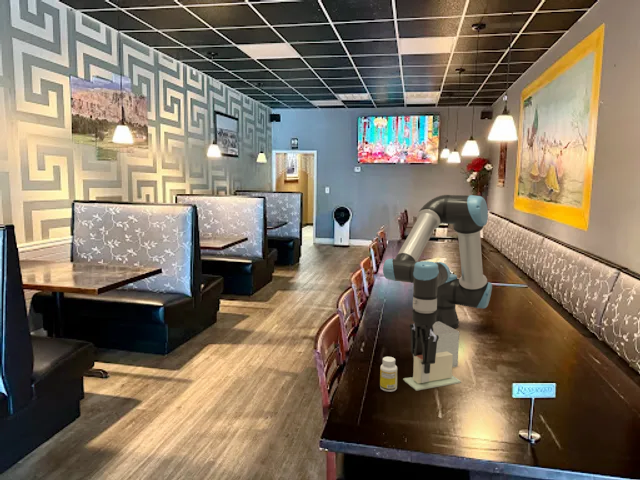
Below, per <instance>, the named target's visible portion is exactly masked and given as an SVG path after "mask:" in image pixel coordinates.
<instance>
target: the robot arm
mask: <svg viewBox="0 0 640 480" xmlns="http://www.w3.org/2000/svg"><path fill="white" fill-rule="evenodd" d="M488 210H489V207H488V205H487V201H486V200H485V198H484V197H483V196H481V195H475V194H474V195H473V194H469V195H468V194H467V195H465V194H463V195H462V194H461V195H460V194H459V195H458V194H442V195H437V196H436V197H434V198H431V199H430V200H428V201H427V202H426V203H425V204H424V205H423V206H422V207H421V208H420V209H419V211H418V212H417V214H416V221H415V223H414V225H413V226H412V228H411V230H410V231H409V233H408V234H407V235H408V236H406V239H405V241H404V242H403V244H402V246H401V247H400V249H399V251H398V253H397V255H396V256H395V258H387V259H386V260H385V261H384V263H383V266H382V273H383V276H384V278H385V279H386V280H389V281H390V280H391V281H394V282H403V283H412V285H413V291H412V297H413V298H412V309H413V310H412V312H411V314H412V317H411V320H412V322H413V323H410V324H409V329H410V353H411V354H412V355H413V354H414V356H417V355H423V362H421V383H424V382H429V373H430V364H434V363H435V358H436V348H437V341H438V339H439V336H438V335H435V334H434V333H433V324H434V323H436V322H438V321H440V322H442V323H444V324H445V325H447V326H449V327H451V328H453V329H457V328H458V327H459V325H460V324H459V323H460V322H459V321H460V320H459V317H458V313H457V310H456V305H457V306H463V307H467V308H468V307H469V308H475V309H486V308H487V307H488V306H489V303H490V300H491V295H492V290H493V284H492V283H491V282H489V281H488V278H487V276H486V275H485V274H484V271H483V270H484V269H483V257H482V241H481V231H482V230H483V229H484V226H486V225H487V223H488V221H489V211H488ZM441 224H442V225H443V224H447V225H452V227H453V231H454V232H455V233H456V234H457V238H458V247H459V248H458V249H459V258H460V268H461V276H460V277H459V278H458V276H457V274H455V273H451V270H450V267H449V266H448V265H447V264H446V263H444V262H441V261H429V260H427V261H426V260H423V261H419V259H420V257H421V255H422V253H423V252H424V249H425V248H426V246H427V244H428V242H429V241H430V239H431V236H432V235H433V232H434V231H435V229H438V228H439V226H440V225H441ZM414 330H415V331H414ZM425 339H426V340H425ZM422 352H423V354H422Z"/></svg>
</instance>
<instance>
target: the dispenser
mask: <svg viewBox="0 0 640 480" xmlns="http://www.w3.org/2000/svg"><path fill="white" fill-rule="evenodd" d="M414 331H415V330H414ZM433 333H434V334H435V335H438V336H439V339H438V341H437V348H436V353H440V352H446V351H448V352H449V353H451V354H453V362H452V368H456V367H458V363H459V347H460V346H459V344H460V331H459V330H457V329H456V328H454V329H453V328H451V327H449V326H447V325H445V324H444V323H442V322H440V321H438V322H436V323H434V324H433ZM425 340H426V339H425ZM422 354H423V352H422ZM412 358H413V359H414V354H412Z"/></svg>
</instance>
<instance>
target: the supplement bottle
mask: <svg viewBox="0 0 640 480" xmlns="http://www.w3.org/2000/svg"><path fill="white" fill-rule="evenodd" d="M379 371H380V372H379V373H380V374H379V387H380V390H382V391H384V392H391V393H392V392H395V391H396V390H397V389H398V366H397V365H396V358H394V356H393V357H392V356H384V357H382V364H381V365H380V370H379Z"/></svg>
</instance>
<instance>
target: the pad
mask: <svg viewBox="0 0 640 480" xmlns="http://www.w3.org/2000/svg"><path fill="white" fill-rule="evenodd" d="M402 381H404V382H405V383H406V384H408V385H409V386H410V387H411V388H412V389H414V390H415V391H421V390H427V389H433V388H438V387H444V386H449V385H455V384H460V383H462V381H461V380H460V379H458V378H457V377H456V376H454V375H453V374H452V378H446V379H441V380H435V381H430V382H424V383H419V384H418V383H417V382H415V381H414V380H413V376H412V377H411V376H410V377H404V378H402Z"/></svg>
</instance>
